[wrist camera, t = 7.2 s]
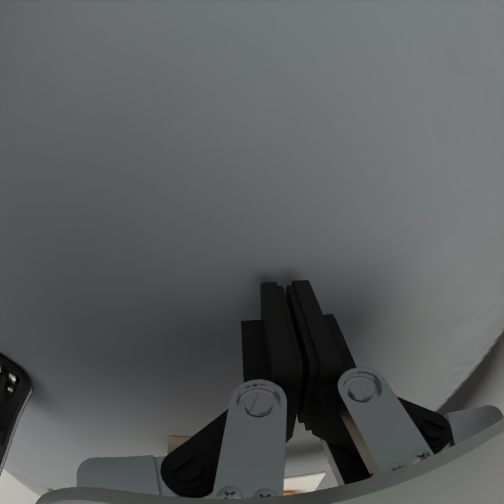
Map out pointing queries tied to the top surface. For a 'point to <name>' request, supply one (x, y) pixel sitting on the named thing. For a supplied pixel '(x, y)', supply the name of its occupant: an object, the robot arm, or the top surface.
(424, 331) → the top surface
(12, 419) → the battery charger
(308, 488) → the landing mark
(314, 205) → the top surface
